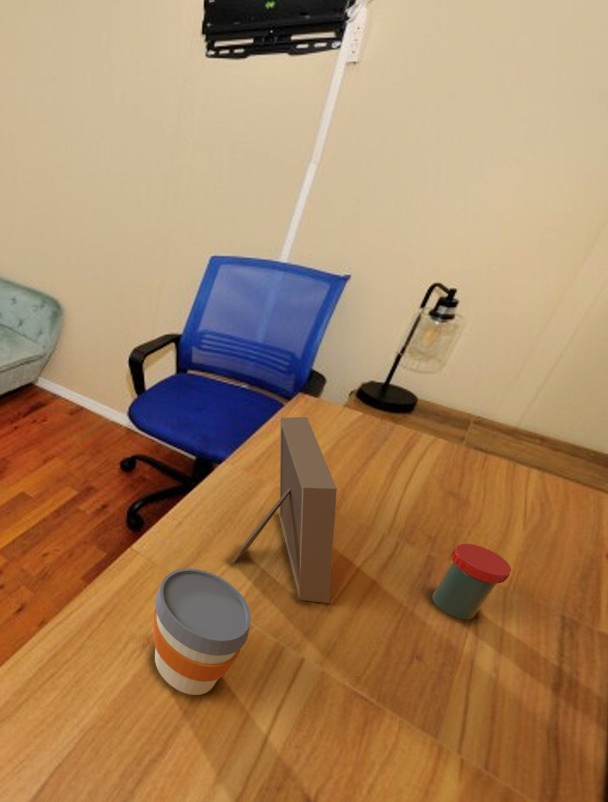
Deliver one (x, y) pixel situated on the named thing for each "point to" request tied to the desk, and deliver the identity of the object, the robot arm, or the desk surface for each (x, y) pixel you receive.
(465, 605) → the jam jar
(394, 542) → the desk surface
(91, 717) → the desk surface
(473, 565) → the jam lid
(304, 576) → the photo frame
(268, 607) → the desk surface
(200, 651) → the reusable coffee cup
